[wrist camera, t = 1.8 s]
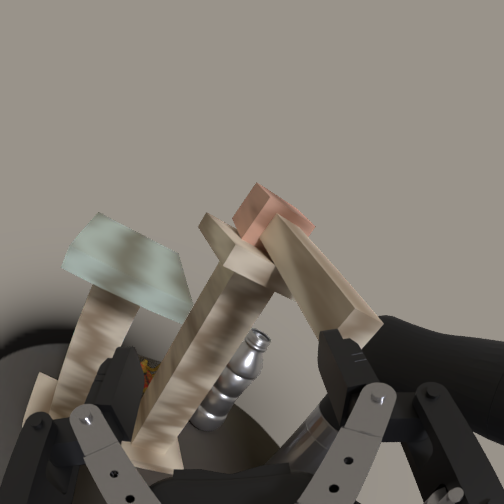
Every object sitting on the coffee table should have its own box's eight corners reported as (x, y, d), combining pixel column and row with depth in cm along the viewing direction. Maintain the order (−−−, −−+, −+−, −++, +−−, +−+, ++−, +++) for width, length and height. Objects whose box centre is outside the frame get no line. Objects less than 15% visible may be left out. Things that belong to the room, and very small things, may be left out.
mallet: (272, 241, 39) (296, 208, 38) (356, 372, 20) (405, 318, 18) (232, 218, 37) (256, 182, 35) (292, 351, 17) (349, 284, 16)
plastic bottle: (215, 416, 53) (274, 333, 50) (217, 441, 46) (283, 354, 44) (184, 403, 51) (240, 317, 49) (182, 428, 45) (245, 336, 42)
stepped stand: (172, 419, 45) (277, 252, 42) (185, 487, 33) (332, 296, 29) (40, 370, 36) (122, 166, 33) (19, 438, 24) (103, 172, 20)
